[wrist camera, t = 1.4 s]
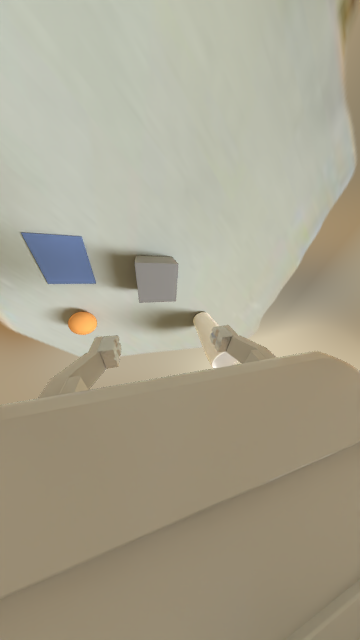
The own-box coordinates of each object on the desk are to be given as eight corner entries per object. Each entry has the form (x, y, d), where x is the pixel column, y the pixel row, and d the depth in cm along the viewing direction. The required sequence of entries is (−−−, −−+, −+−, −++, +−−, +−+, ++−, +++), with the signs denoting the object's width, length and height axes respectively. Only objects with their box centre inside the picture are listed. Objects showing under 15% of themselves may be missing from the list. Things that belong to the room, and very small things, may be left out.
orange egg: (70, 308, 28) (58, 321, 24) (95, 306, 29) (88, 319, 25) (79, 326, 31) (69, 340, 27) (102, 324, 32) (96, 338, 28)
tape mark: (21, 232, 20) (20, 232, 19) (81, 236, 21) (80, 236, 21) (48, 283, 24) (48, 283, 24) (95, 283, 26) (95, 283, 26)
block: (136, 255, 25) (134, 262, 20) (171, 256, 26) (178, 263, 21) (140, 289, 29) (139, 302, 24) (170, 288, 30) (175, 301, 26)
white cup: (211, 306, 36) (243, 344, 25) (211, 323, 40) (240, 364, 29) (188, 312, 36) (210, 355, 24) (191, 330, 40) (211, 373, 28)
